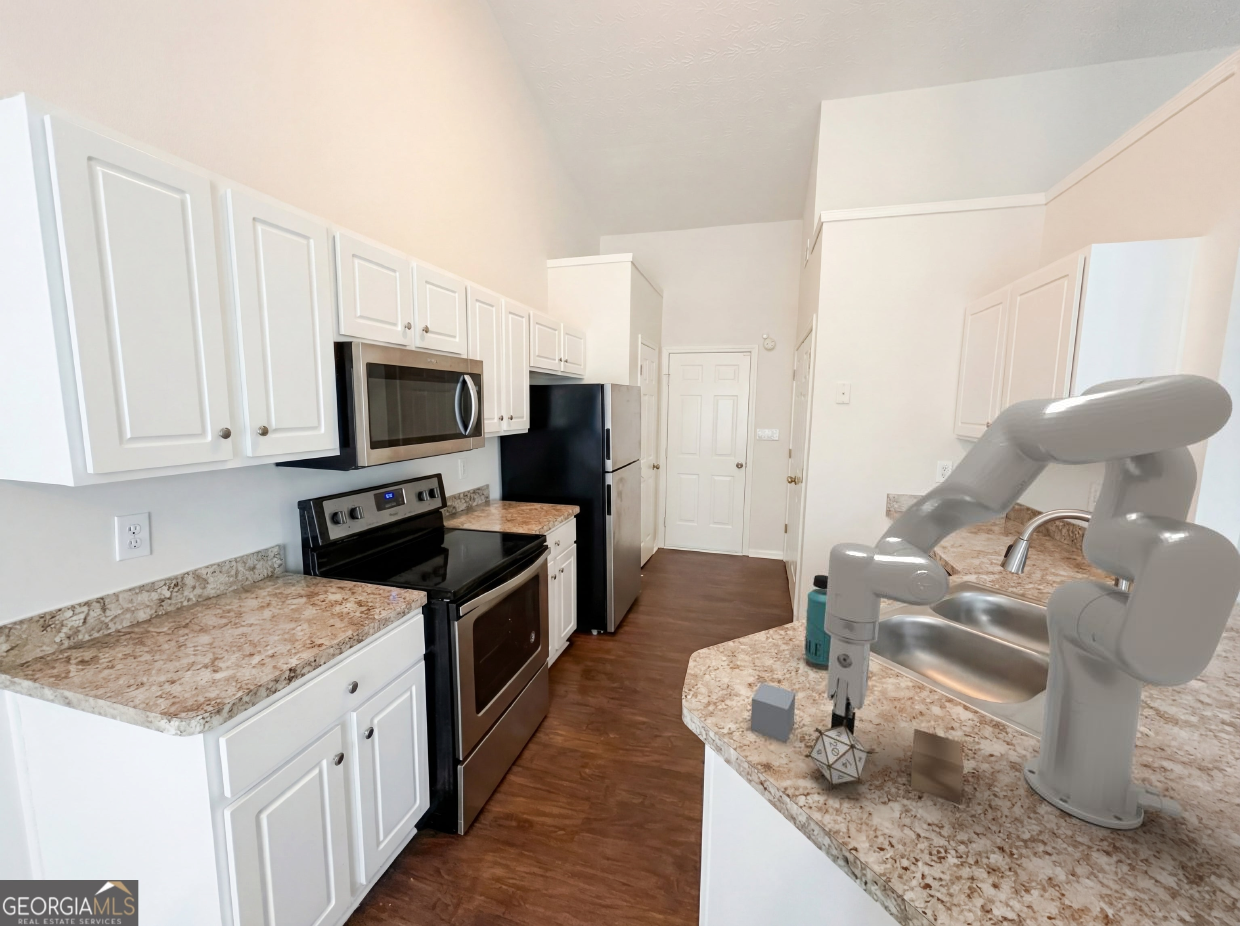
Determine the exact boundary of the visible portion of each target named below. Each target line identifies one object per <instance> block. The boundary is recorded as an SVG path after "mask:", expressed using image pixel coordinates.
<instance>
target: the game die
mask: <svg viewBox="0 0 1240 926" xmlns="http://www.w3.org/2000/svg"><path fill="white" fill-rule="evenodd" d="M814 727H815V726H814ZM815 731H816V732H817V735H816V737H815V740H814V743H813V745H812V747H811V750H810V752H809V753H805V754H804V755H803V757H804V758H806V759H809V758H810V759H811V760H812V762H814V764H815V765H816V766H817V767H818V769H819V770H820V771H821V772H822V774H823V776H824V777H826V779H827V781H829V783H830V784H829V790H830V791H832V790H834V785H837V784H843V783H844V784H845V783H851V782H855V781H858V782H859V783H860V785H863V786H865V783H864V780H863V779H861V778H862V773H863V771H864V767H865V765H866V762H867V757H868V755H870V756H871V755H873V754H874V753H875V752H874V751H872V750H868V751H867V750H866V749H865V748H864V746H863V744H861V742H860V741H859V740H858V739H857V738H856V737H855V735H852V733H851V732H850V731H849V730H848V729H847V728H846V719H845V720H844V721H843V725H842V726H838V727H834V728H831V727H830V728H826V729H823V730H821V728H819V727H815Z"/></svg>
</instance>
